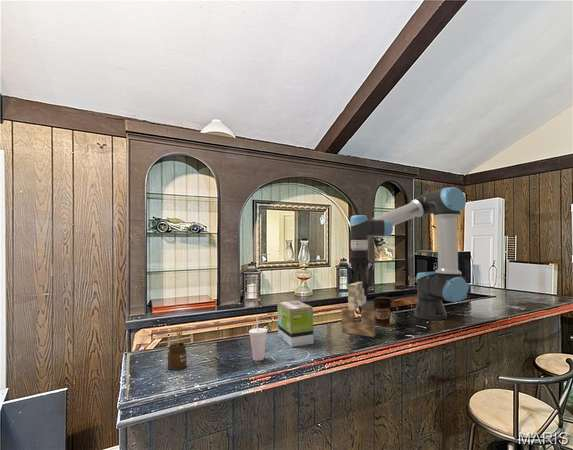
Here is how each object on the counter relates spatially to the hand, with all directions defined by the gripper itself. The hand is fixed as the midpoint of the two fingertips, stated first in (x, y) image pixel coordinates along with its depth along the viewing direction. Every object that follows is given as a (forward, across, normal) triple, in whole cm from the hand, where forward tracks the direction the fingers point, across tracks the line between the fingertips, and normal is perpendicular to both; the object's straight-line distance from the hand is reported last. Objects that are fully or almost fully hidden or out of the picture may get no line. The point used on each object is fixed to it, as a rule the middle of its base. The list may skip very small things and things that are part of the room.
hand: (360, 302), depth 142 cm
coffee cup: (+13, +5, +15) cm, 20 cm away
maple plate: (+1, 0, -4) cm, 5 cm away
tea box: (+13, -19, -25) cm, 34 cm away
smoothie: (+13, -19, -49) cm, 54 cm away
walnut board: (+13, 0, -4) cm, 13 cm away
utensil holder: (+14, -38, -68) cm, 79 cm away
